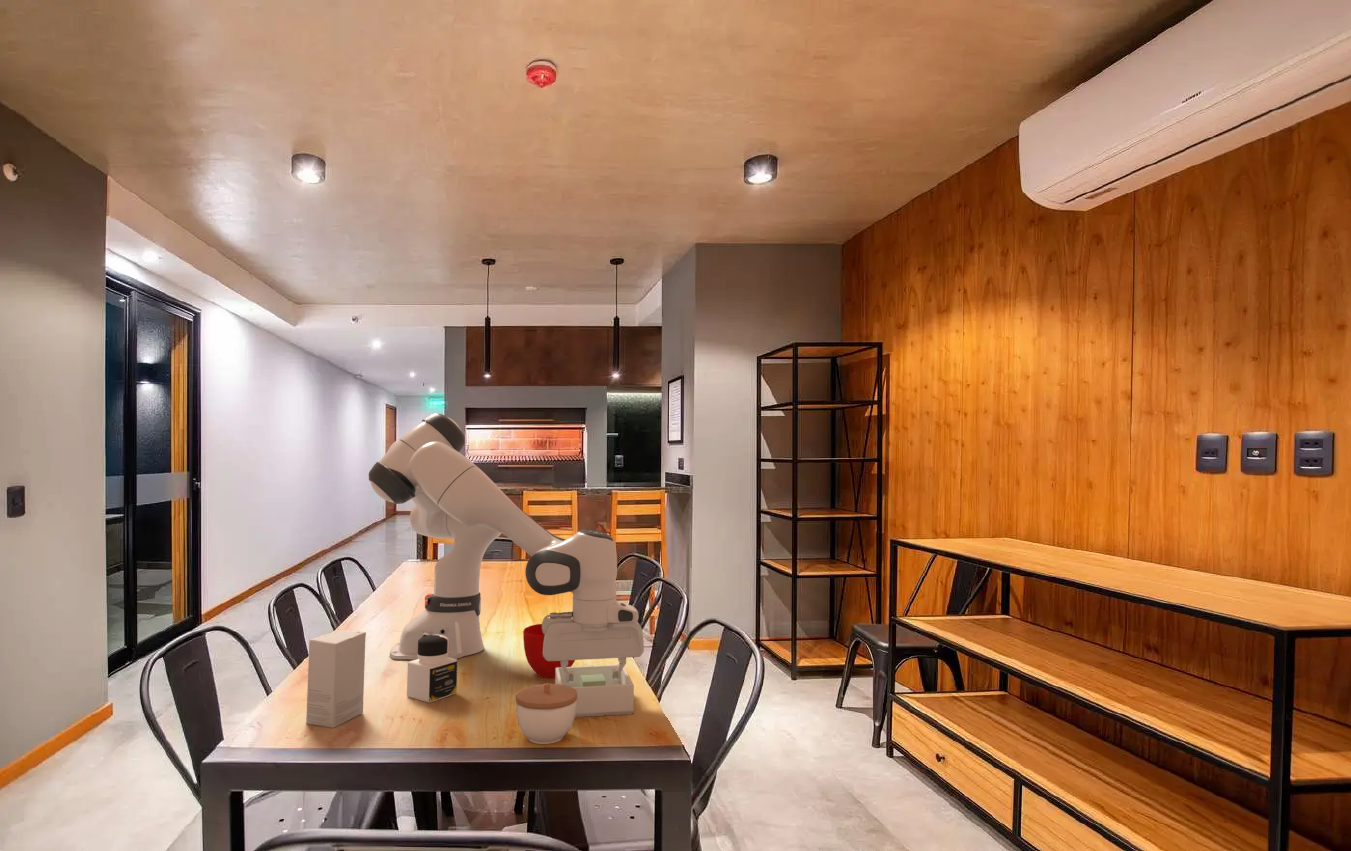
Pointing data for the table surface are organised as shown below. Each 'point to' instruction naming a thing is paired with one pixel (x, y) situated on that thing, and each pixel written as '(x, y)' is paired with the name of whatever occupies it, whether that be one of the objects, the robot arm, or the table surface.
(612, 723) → the table surface
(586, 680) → the sage cube
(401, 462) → the robot arm
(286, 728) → the table surface
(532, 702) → the lidded jar
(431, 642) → the medicine bottle
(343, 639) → the skincare box
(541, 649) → the ceramic cup
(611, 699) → the tub
